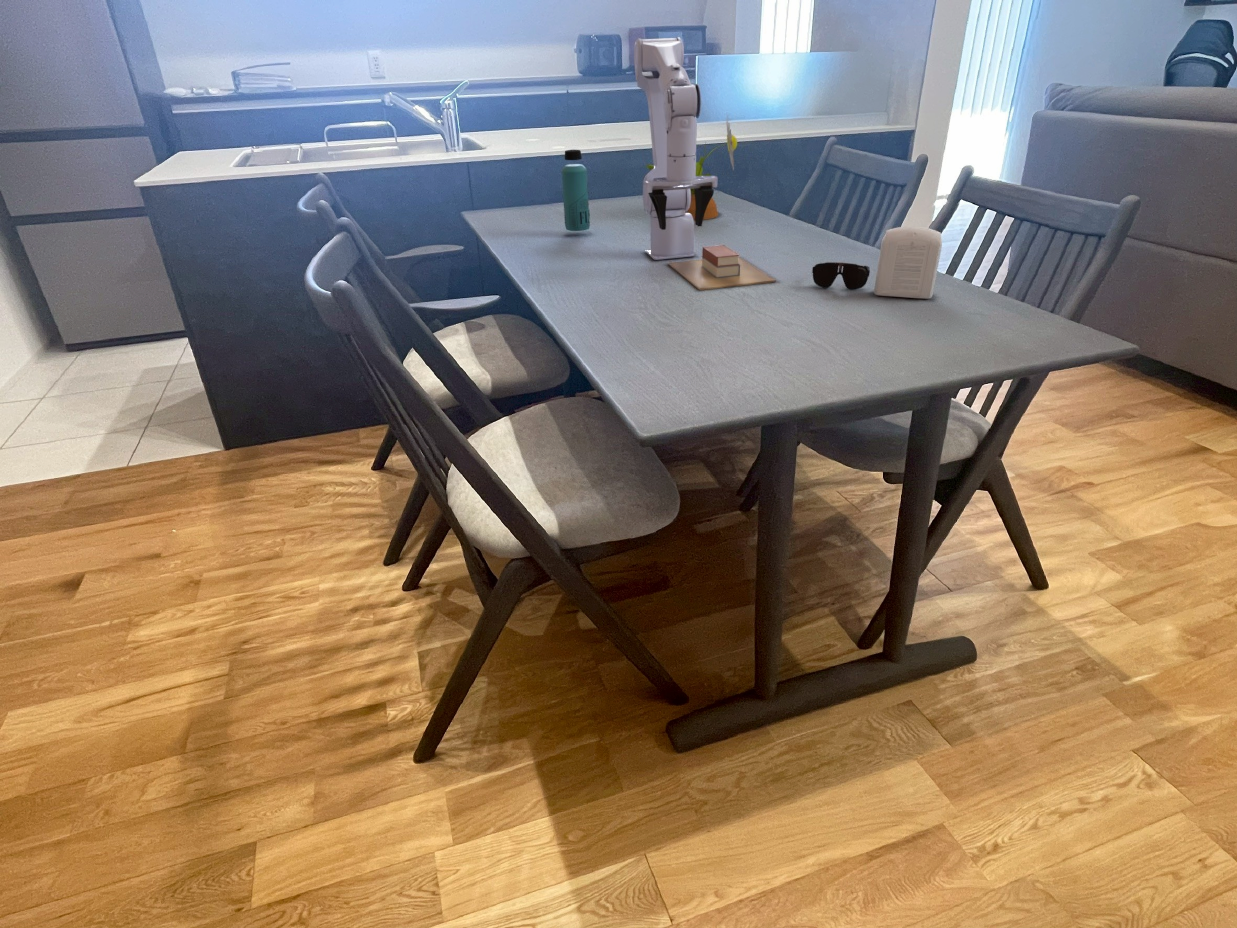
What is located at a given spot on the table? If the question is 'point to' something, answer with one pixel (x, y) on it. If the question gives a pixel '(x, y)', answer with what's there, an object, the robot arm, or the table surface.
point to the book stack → (720, 261)
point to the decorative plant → (711, 208)
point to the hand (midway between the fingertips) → (680, 227)
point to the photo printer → (908, 262)
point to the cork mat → (708, 281)
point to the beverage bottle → (575, 193)
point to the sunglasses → (851, 274)
